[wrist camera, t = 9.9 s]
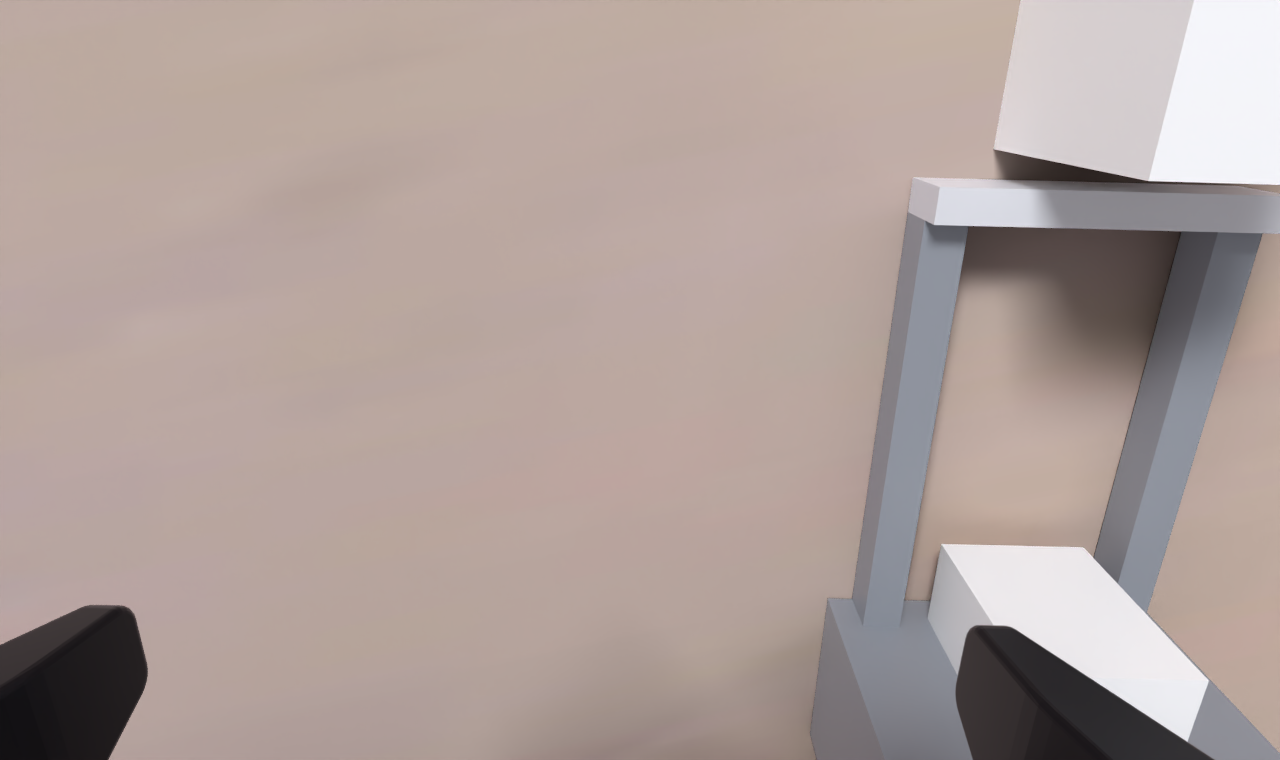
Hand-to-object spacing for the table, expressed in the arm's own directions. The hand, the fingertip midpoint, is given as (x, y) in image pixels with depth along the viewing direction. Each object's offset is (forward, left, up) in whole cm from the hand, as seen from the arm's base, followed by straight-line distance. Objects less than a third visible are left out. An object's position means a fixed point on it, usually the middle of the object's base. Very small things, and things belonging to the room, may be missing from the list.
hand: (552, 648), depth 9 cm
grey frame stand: (-5, -11, -12) cm, 17 cm away
